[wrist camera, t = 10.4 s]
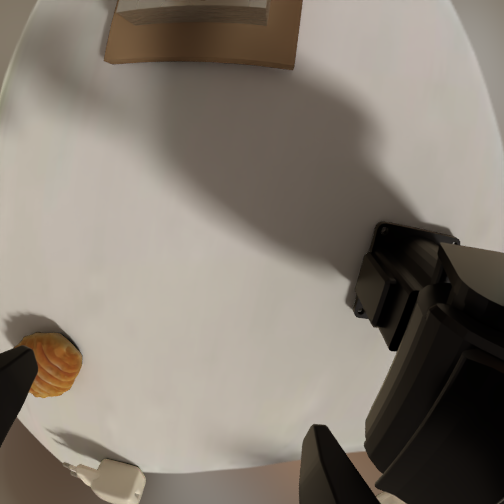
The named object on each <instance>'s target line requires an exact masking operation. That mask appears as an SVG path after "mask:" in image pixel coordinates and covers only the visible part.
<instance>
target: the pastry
mask: <svg viewBox="0 0 504 504" xmlns="http://www.w3.org/2000/svg"><path fill="white" fill-rule="evenodd" d="M21 345H25V346H27V347H29V348H31V349H32V350H33V351H34V354H35V357H36V361H37V364H38V373H37V375H36V378H35V380H34V382H33V384H32V386H31V388H30V391H29V392H30V393H32V394H33V395H34V396H35V397H41V398H46V397H48V396H51V397H53V396H60V395H62V394H63V393H64V392H66V391H68V390H70V388H71V386H72V384H73V382H74V380H75V378H76V377H77V375H78V373H79V371H80V369H81V366H82V355H81V353H80V352H79V351H78V350H77V349H76V348H75V347H74V346H73V344H72V343H71V342H70V341H69V340H67V339H66V338H65V337H64V336H63V335H61V334H60V333H40V332H36V333H34V334H32V335H28V336H25V337H24V338H23V340H22V342H20V343H19V345H17V346H15V347H14V348H16V347H18V346H21Z"/></svg>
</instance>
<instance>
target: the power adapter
mask: <svg viewBox="0 0 504 504" xmlns="http://www.w3.org/2000/svg"><path fill="white" fill-rule="evenodd" d="M63 466H64V467H67V468H69V469H72V470H75V471H76V472H73V471H71V473H70V474H71V475H73V476H75V477H77V478H80V479H82V480H83V482H84V483H85V484H86V485H88V486H91V489H92V490H93V492H94V493H95V494H96V495H97V496H98V497H100V498H101V499H102V500H105V501H108V502H110V503H113V504H139V501H140V498H141V495H142V492H143V489H144V486H145V482H146V479H145V476H144V474H143V473H142V471H141V470H140V468H138V467H136V466H133V465H129V464H126V463H122V462H118V461H114V460H110V459H103V460H102V461H101V463H100V465H99V467H98V469H97V470H96V469H93V468H90V467H88V466H85V465H82V464H79V465H78V466H77V467H75V466H73V465H71V464H68V463H66V462H64V463H63Z"/></svg>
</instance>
